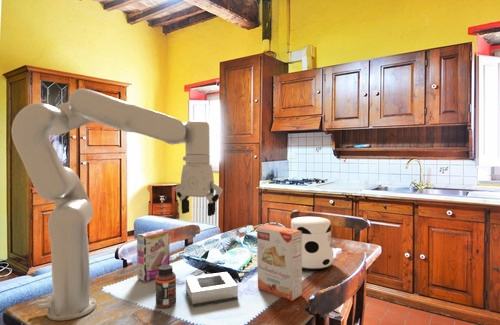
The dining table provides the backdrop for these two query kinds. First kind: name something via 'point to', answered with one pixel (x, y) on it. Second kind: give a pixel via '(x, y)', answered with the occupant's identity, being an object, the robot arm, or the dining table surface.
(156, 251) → the candy bar box
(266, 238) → the cracker box
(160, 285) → the supplement bottle
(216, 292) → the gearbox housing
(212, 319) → the dining table surface
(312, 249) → the milk container
